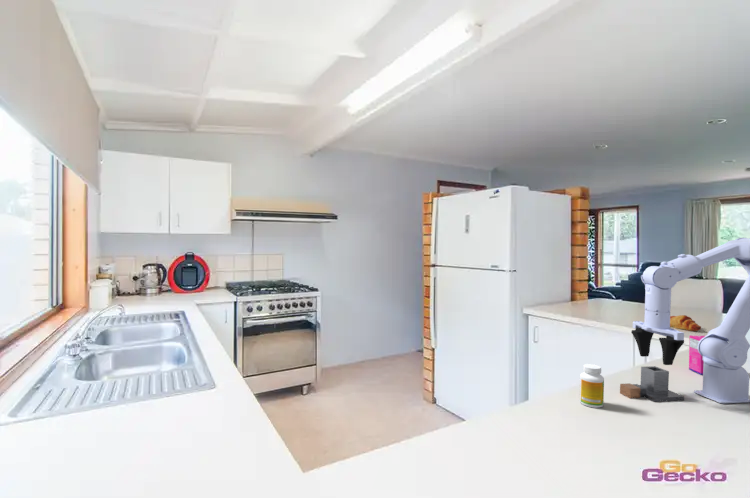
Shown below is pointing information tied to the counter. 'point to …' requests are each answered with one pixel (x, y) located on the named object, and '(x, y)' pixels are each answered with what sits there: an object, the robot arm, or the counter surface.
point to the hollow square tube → (655, 379)
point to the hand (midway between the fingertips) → (655, 360)
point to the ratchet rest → (647, 393)
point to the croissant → (683, 323)
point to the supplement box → (695, 355)
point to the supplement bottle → (591, 386)
